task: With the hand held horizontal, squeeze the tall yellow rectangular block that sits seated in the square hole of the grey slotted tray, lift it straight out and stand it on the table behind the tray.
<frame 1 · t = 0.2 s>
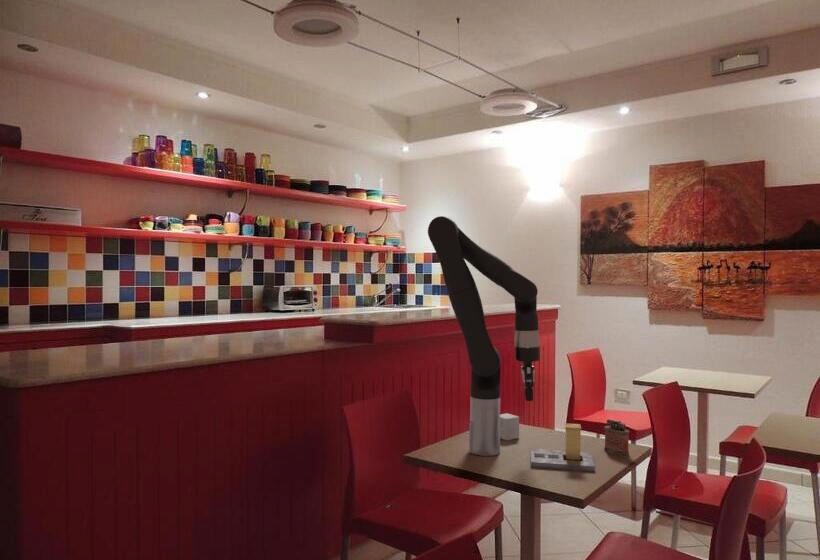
hand: (528, 397, 174), 17 cm above the table, tool pointing down, fingers open, 8 cm apart
grey slotted tray: (572, 462, 167), on the table
lighter: (616, 453, 177), on the table
product box: (506, 438, 194), on the table
yellow rectangular block: (572, 463, 167), resting in grey slotted tray
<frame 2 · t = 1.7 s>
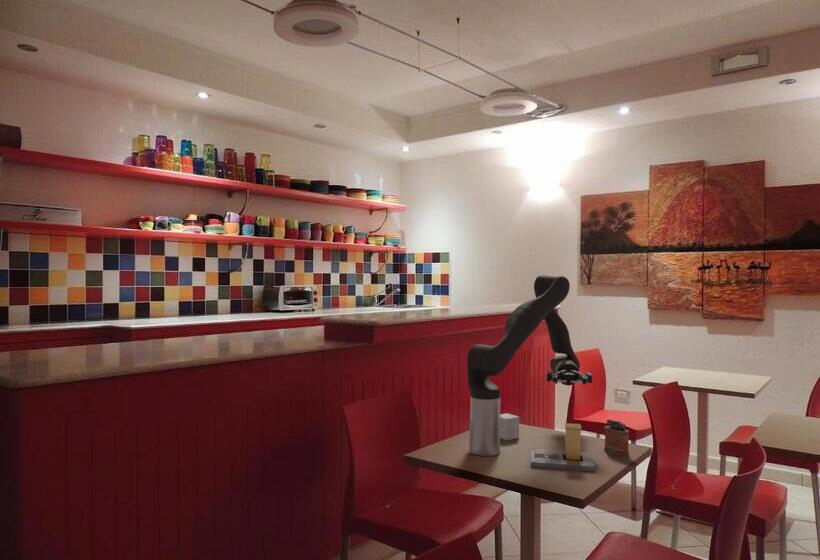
hand: (570, 381, 180), 22 cm above the table, tool horizontal, fingers open, 8 cm apart
nothing on the table moved.
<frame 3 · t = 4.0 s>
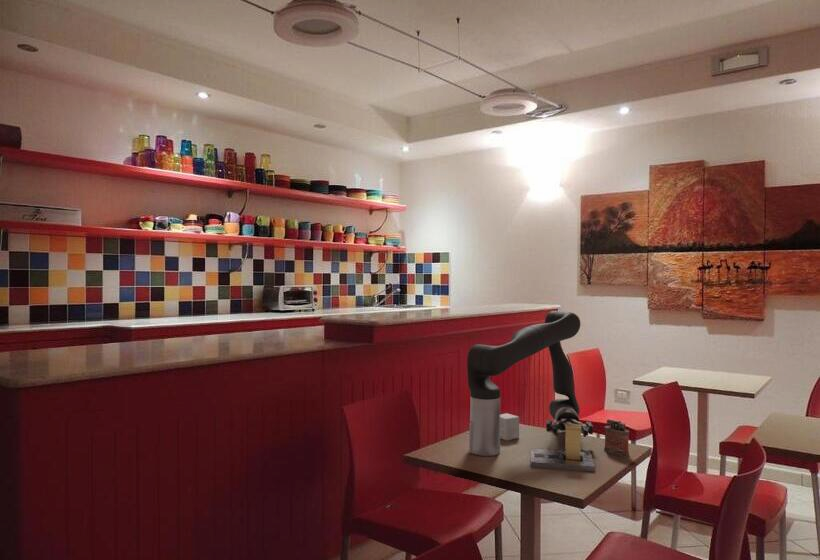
hand: (570, 432, 176), 7 cm above the table, tool horizontal, fingers open, 8 cm apart
nothing on the table moved.
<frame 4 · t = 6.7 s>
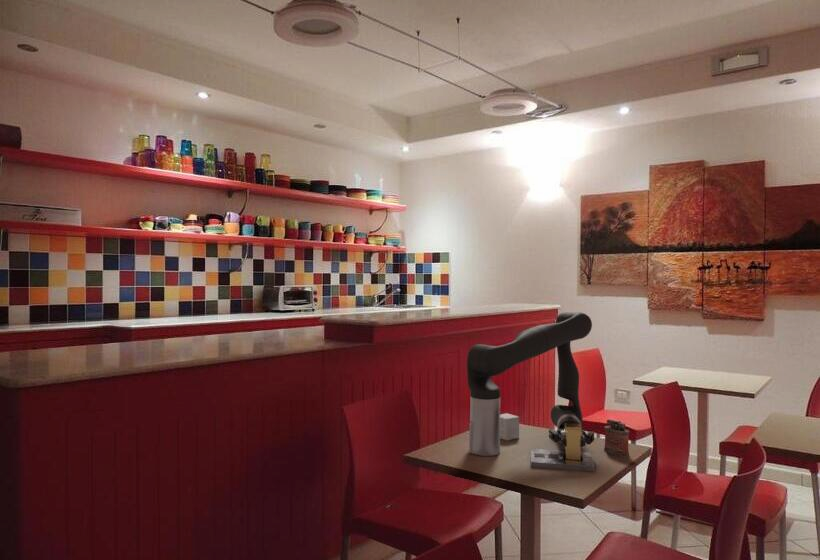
hand: (573, 443, 164), 7 cm above the table, tool horizontal, fingers closed on yellow rectangular block, 4 cm apart
yellow rectangular block: (572, 463, 167), resting in grey slotted tray, touching gripper
everything else where it was.
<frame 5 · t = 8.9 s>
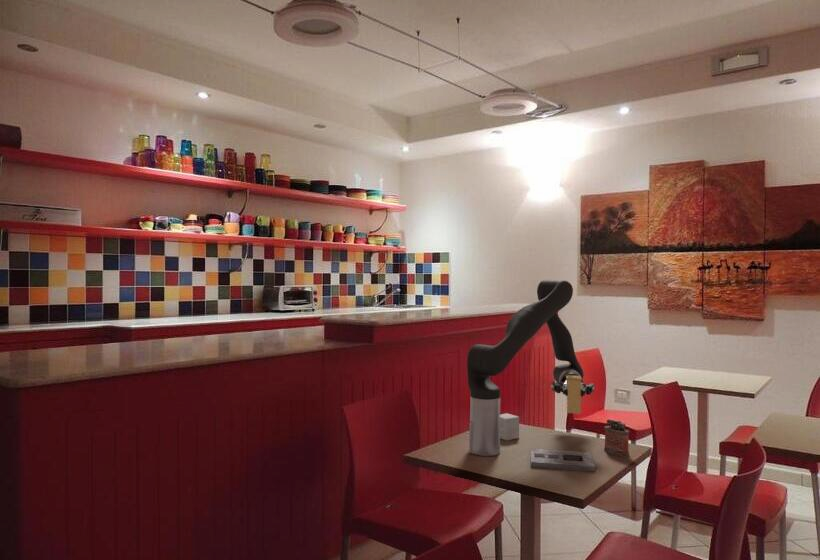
hand: (574, 392, 176), 19 cm above the table, tool horizontal, fingers closed on yellow rectangular block, 4 cm apart
yellow rectangular block: (573, 411, 179), point 12 cm above the table, touching gripper
everything else where it was.
when the fingers open (8 cm above the table, at t = 11.5 s): yellow rectangular block drops 1 cm, on the table.
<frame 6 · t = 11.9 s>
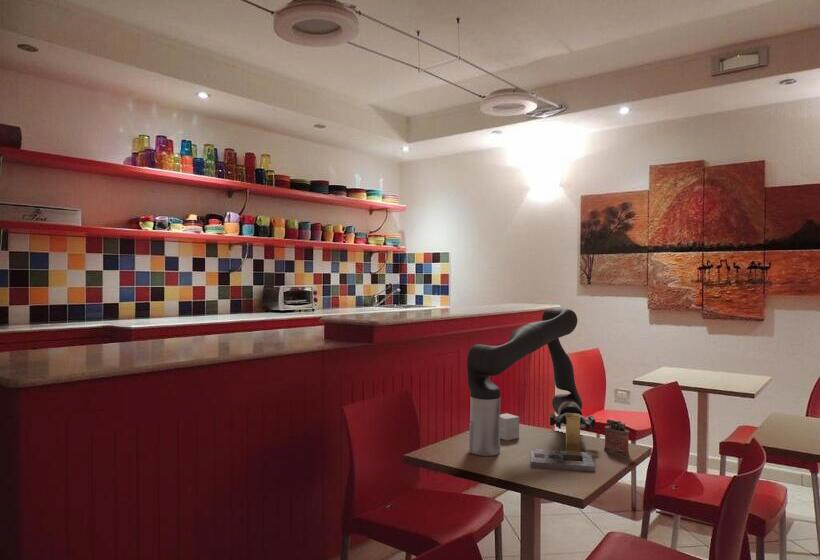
hand: (573, 426, 178), 8 cm above the table, tool horizontal, fingers open, 8 cm apart
yellow rectangular block: (572, 450, 180), on the table
everything else where it was.
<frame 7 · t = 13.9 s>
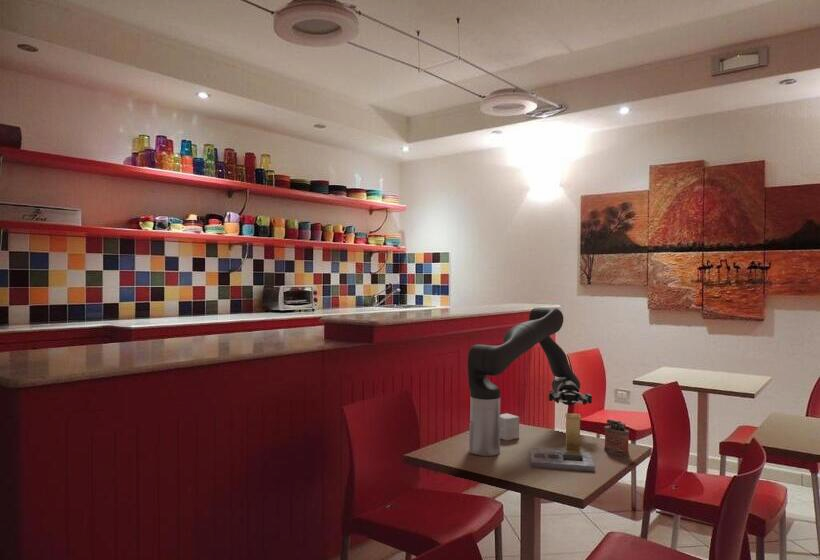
hand: (571, 400, 190), 13 cm above the table, tool horizontal, fingers open, 8 cm apart
nothing on the table moved.
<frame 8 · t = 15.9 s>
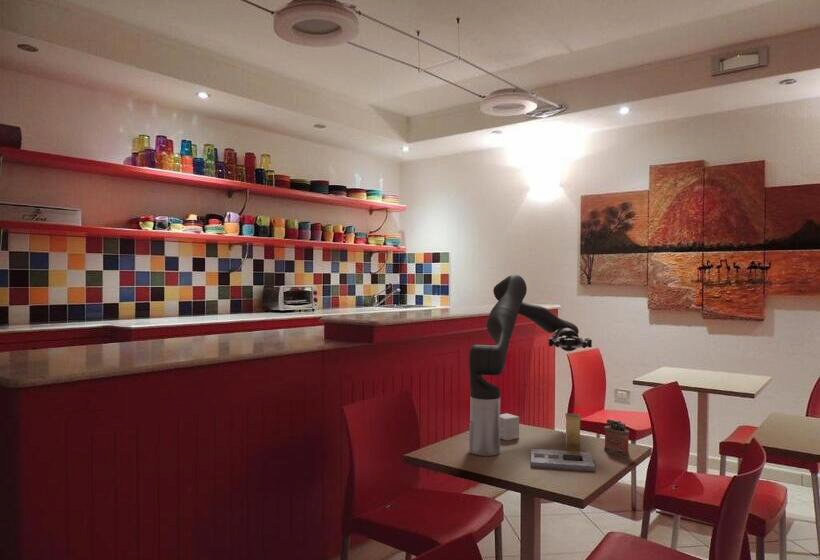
hand: (571, 344, 190), 32 cm above the table, tool horizontal, fingers open, 8 cm apart
nothing on the table moved.
at the end: yellow rectangular block inside the target area (0.1 cm from its centre), on the table; yellow rectangular block tilted 0°; yellow rectangular block touching table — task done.
